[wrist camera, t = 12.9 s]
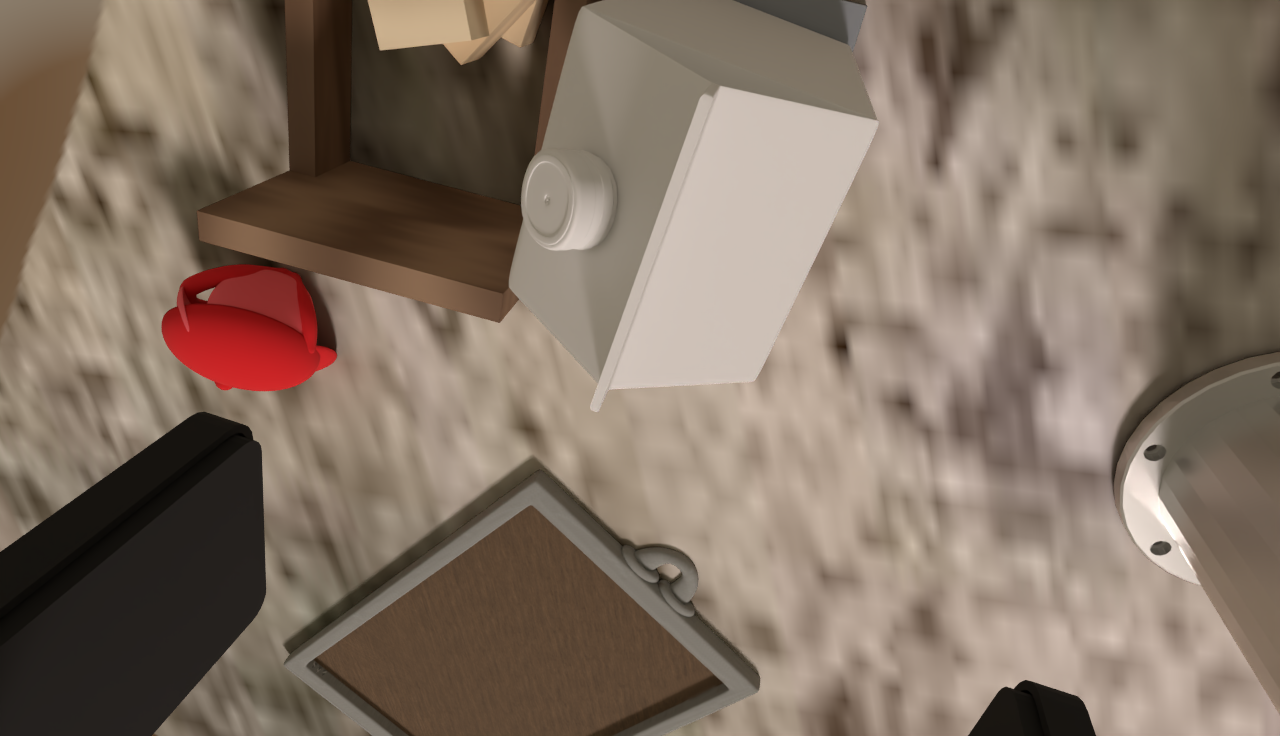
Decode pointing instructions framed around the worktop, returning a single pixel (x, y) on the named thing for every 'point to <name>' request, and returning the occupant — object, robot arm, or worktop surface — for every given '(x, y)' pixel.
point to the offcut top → (427, 22)
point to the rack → (374, 188)
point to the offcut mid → (490, 28)
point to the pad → (817, 16)
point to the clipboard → (527, 635)
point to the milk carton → (685, 187)
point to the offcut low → (526, 25)
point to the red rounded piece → (247, 328)
